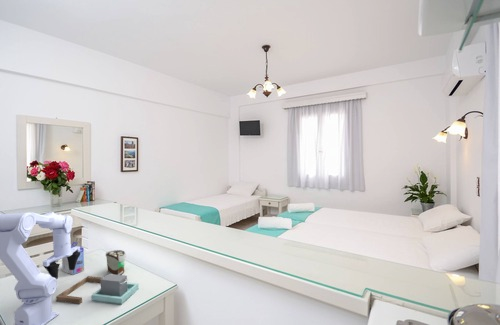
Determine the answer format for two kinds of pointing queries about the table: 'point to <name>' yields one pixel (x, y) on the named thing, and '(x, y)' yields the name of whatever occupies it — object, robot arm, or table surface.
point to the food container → (116, 261)
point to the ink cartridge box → (79, 263)
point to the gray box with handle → (114, 285)
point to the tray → (114, 299)
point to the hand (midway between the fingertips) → (63, 274)
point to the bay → (72, 299)
